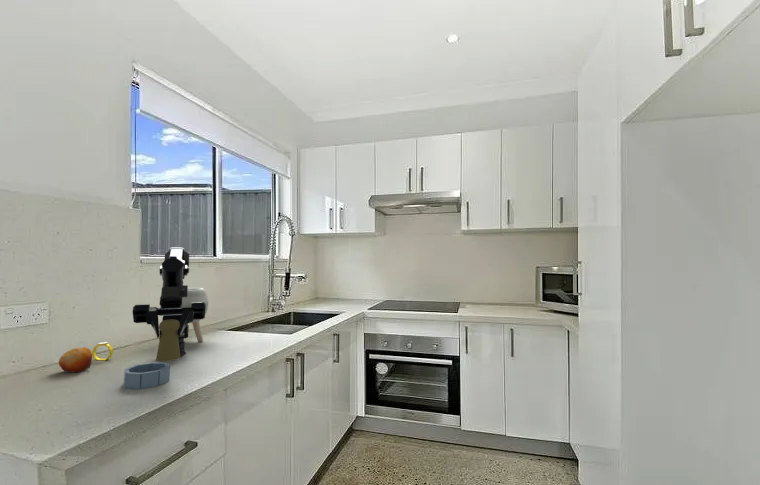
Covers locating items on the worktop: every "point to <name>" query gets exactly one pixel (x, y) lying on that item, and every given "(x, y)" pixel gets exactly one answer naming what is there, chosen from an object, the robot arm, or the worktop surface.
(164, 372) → the bowl
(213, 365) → the worktop surface
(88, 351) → the fruit
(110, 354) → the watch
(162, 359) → the cork
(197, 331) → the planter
